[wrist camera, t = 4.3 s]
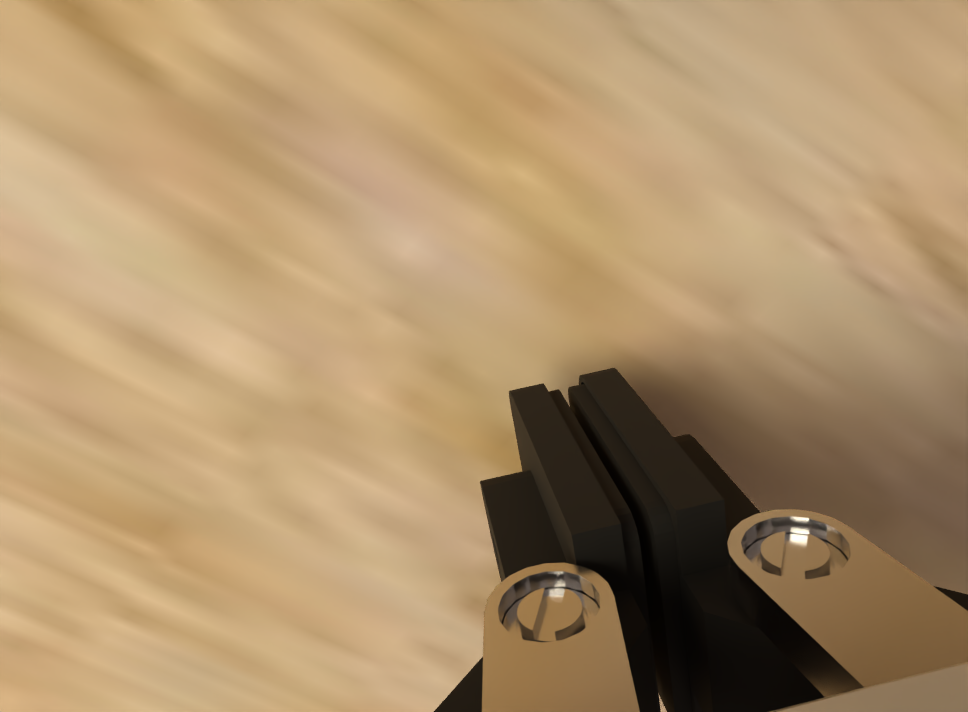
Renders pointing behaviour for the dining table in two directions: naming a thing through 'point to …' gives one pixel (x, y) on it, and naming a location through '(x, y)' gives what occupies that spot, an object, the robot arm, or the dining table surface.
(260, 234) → the dining table surface
